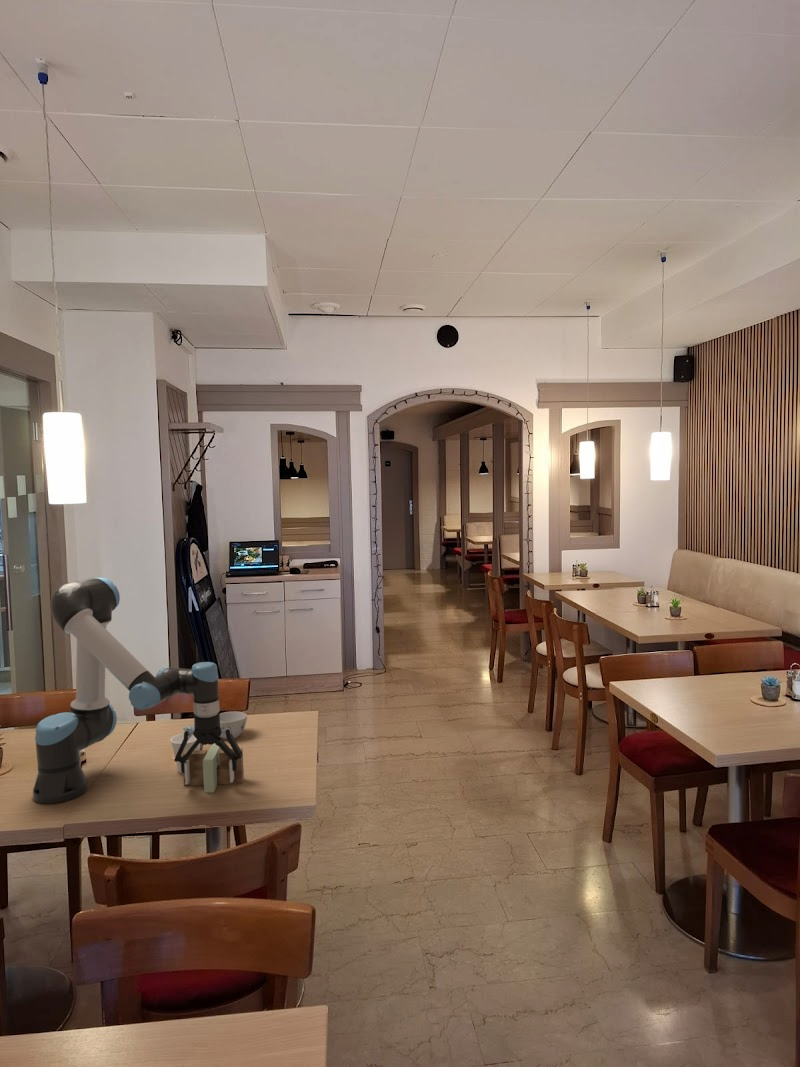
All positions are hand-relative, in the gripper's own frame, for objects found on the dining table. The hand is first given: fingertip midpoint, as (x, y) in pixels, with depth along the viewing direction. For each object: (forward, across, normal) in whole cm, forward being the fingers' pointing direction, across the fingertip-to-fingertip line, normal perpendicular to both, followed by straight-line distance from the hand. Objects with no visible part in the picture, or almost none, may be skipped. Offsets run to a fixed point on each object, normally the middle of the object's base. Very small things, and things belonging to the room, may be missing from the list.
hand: (209, 781), depth 216 cm
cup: (+3, -11, +16) cm, 19 cm away
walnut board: (+3, 0, +6) cm, 6 cm away
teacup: (+3, -3, +45) cm, 45 cm away
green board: (+3, 0, +6) cm, 6 cm away
